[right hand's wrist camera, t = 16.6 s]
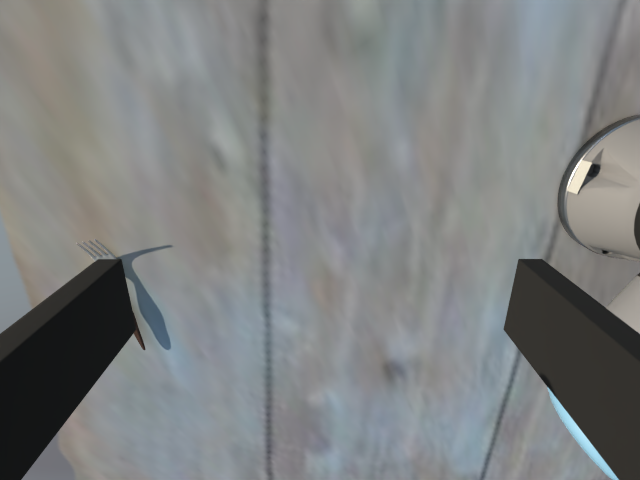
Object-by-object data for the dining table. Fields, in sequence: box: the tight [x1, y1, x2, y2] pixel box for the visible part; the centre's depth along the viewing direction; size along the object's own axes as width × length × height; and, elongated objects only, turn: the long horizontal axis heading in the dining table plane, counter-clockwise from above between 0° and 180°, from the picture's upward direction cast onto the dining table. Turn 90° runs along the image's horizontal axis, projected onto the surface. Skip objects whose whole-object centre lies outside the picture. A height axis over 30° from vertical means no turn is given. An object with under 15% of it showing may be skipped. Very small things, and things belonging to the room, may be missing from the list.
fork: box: [76, 239, 145, 350], centre depth 45 cm, size 3×16×2 cm, turn 11°
